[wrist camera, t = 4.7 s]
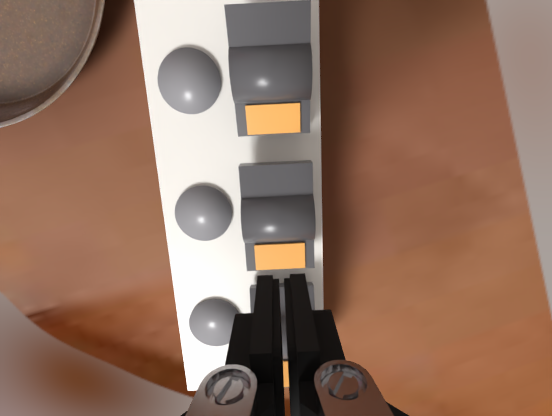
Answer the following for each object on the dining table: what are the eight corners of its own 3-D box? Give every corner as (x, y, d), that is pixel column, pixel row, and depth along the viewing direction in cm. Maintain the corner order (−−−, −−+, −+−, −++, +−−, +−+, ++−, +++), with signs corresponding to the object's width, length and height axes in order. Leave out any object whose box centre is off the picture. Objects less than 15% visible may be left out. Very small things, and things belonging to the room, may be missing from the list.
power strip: (139, -154, 18) (99, -238, 14) (306, -164, 18) (315, -251, 13) (201, 350, 25) (187, 393, 21) (317, 344, 25) (325, 387, 21)
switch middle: (241, 161, 17) (236, 169, 15) (308, 157, 17) (314, 165, 15) (249, 256, 19) (245, 278, 17) (310, 254, 19) (316, 275, 17)
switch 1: (228, 6, 15) (221, 3, 13) (306, 2, 15) (313, -2, 13) (240, 127, 18) (236, 141, 16) (306, 123, 18) (311, 137, 16)
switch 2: (252, 281, 20) (248, 291, 17) (310, 278, 20) (315, 288, 17) (256, 373, 20) (253, 397, 17) (315, 370, 20) (320, 394, 17)
